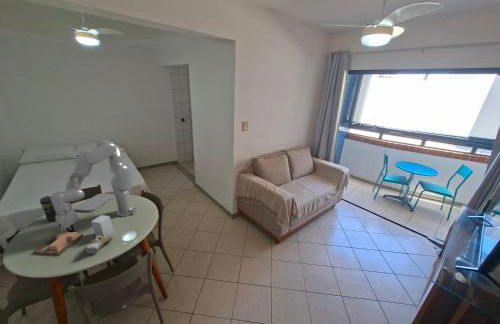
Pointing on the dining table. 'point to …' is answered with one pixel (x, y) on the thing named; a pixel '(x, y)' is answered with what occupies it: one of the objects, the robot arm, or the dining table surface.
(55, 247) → the t block
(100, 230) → the supplement box
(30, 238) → the dining table surface
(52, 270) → the dining table surface
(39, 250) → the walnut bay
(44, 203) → the coffee jar
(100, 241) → the ceramic sculpture
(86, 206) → the tablet
